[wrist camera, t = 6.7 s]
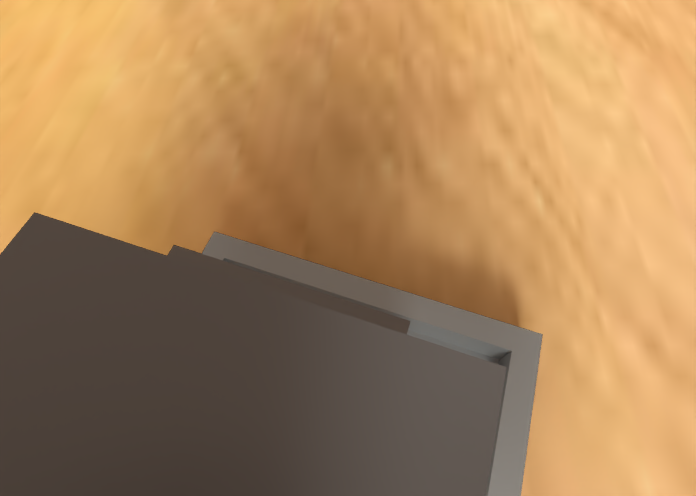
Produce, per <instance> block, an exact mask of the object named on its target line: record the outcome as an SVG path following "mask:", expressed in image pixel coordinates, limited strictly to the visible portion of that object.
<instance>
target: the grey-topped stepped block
mask: <svg viewBox="0 0 696 496" xmlns="http://www.w3.org/2000/svg"><path fill="white" fill-rule="evenodd" d="M409 325H410V321H409V320H406V319H403V318H399V317H396V316H393V315H390V314H387V313H384V312H381V311H378V310H375V309H372V308H368V307H365V306H362V305H359V304H356V303H353V302H350V301H347V300H344V299H341V298H337V297H334V296H331V295H328V294H325V293H322V292H319V291H316V290H313V289H310V288H306V287H303V286H300V285H297V284H294V283H291V282H288V281H285V280H282V279H279V278H275V277H272V276H269V275H266V274H263V273H260V272H257V271H254V270H251V269H247V268H244V267H241V266H238V265H235V264H232V263H229V262H226V261H223V260H220V259H216V258H213V257H210V256H207V255H204V254H201V253H198V252H195V251H192V250H189V249H185V248H182V247H179V246H176V245H174V246H173V247H172V249H171V250H170V252H169V254H168V255H167V256H166V255H163V254H160V253H157V252H154V251H151V250H148V249H145V248H142V247H139V246H136V245H133V244H130V243H126V242H123V241H120V240H117V239H114V238H111V237H108V236H105V235H102V234H99V233H96V232H93V231H90V230H87V229H84V228H81V227H78V226H75V225H72V224H69V223H66V222H63V221H59V220H56V219H53V218H50V217H47V216H44V215H41V214H38V213H34V214H33V215H32V216H31V217H30V219H29V220H28V221H27V222H26V224H25V225H24V226H23V227H22V228H21V230H20V231H19V232H18V233H17V235H16V236H15V237H14V238H13V239H12V241H11V242H10V243H9V244H8V246H7V247H6V248H5V249H4V251H3V252H2V253H1V254H0V496H485V494H486V488H487V482H488V476H489V470H490V464H491V458H492V452H493V446H494V440H495V434H496V428H497V422H498V416H499V410H500V404H501V398H502V392H503V386H504V380H505V374H506V368H507V367H504V366H501V365H498V364H495V363H492V362H489V361H486V360H483V359H480V358H477V357H474V356H471V355H468V354H465V353H462V352H459V351H455V350H452V349H449V348H446V347H443V346H440V345H437V344H434V343H431V342H428V341H425V340H422V339H419V338H416V337H413V336H410V335H407V332H408V328H409Z"/></svg>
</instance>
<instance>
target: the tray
mask: <svg viewBox="0 0 696 496" xmlns="http://www.w3.org/2000/svg"><path fill="white" fill-rule="evenodd" d="M202 254H204V255H207V256H210V257H213V258H216V259H220V260H223V261H226V262H229V263H232V264H235V265H238V266H241V267H244V268H247V269H251V270H254V271H257V272H260V273H263V274H266V275H269V276H272V277H275V278H279V279H282V280H285V281H288V282H291V283H294V284H297V285H300V286H303V287H306V288H310V289H313V290H316V291H319V292H322V293H325V294H328V295H331V296H334V297H337V298H341V299H344V300H347V301H350V302H353V303H356V304H359V305H362V306H365V307H368V308H372V309H375V310H378V311H381V312H384V313H387V314H390V315H393V316H396V317H399V318H403V319H406V320H409V321H410V325H409V328H408V332H407V335H410V336H413V337H416V338H419V339H422V340H425V341H428V342H431V343H434V344H437V345H440V346H443V347H446V348H449V349H452V350H455V351H459V352H462V353H465V354H468V355H471V356H474V357H477V358H480V359H483V360H486V361H489V362H492V363H495V364H498V365H501V366H504V367H507V368H506V374H505V380H504V386H503V392H502V398H501V404H500V410H499V416H498V422H497V428H496V434H495V440H494V446H493V452H492V458H491V464H490V470H489V476H488V482H487V488H486V494H485V496H521V489H522V482H523V475H524V467H525V460H526V453H527V445H528V438H529V431H530V423H531V416H532V409H533V401H534V394H535V386H536V379H537V372H538V364H539V357H540V350H541V342H542V335H543V334H540V333H536V332H533V331H530V330H527V329H524V328H520V327H517V326H514V325H511V324H508V323H505V322H501V321H498V320H495V319H492V318H489V317H485V316H482V315H479V314H476V313H473V312H469V311H466V310H463V309H460V308H457V307H454V306H450V305H447V304H444V303H441V302H438V301H434V300H431V299H428V298H425V297H422V296H418V295H415V294H412V293H409V292H406V291H402V290H399V289H396V288H393V287H390V286H387V285H383V284H380V283H377V282H374V281H371V280H367V279H364V278H361V277H358V276H355V275H351V274H348V273H345V272H342V271H339V270H336V269H332V268H329V267H326V266H323V265H320V264H316V263H313V262H310V261H307V260H304V259H300V258H297V257H294V256H291V255H288V254H284V253H281V252H278V251H275V250H272V249H269V248H265V247H262V246H259V245H256V244H253V243H249V242H246V241H243V240H240V239H237V238H233V237H230V236H227V235H224V234H221V233H218V232H214V233H213V235H212V236H211V238H210V240H209V242H208V243H207V245H206V247H205V249H204V250H203V252H202Z"/></svg>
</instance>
